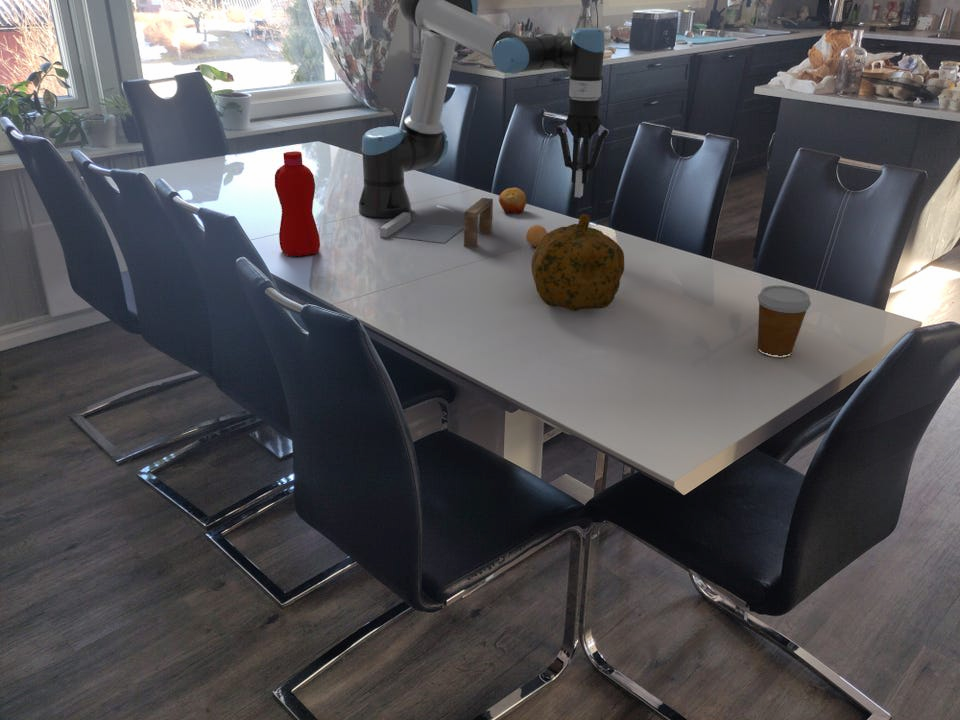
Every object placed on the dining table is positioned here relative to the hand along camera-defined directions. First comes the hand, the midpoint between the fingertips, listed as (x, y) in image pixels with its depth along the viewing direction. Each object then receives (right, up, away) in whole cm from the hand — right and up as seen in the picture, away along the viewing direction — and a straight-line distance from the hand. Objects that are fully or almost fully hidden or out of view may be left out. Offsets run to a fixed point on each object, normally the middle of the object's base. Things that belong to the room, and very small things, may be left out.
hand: (578, 195), depth 208 cm
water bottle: (-70, -14, +2) cm, 72 cm away
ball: (-10, -9, +8) cm, 16 cm away
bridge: (-25, -9, +14) cm, 30 cm away
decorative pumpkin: (-4, -29, -26) cm, 39 cm away
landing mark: (-38, -7, +18) cm, 43 cm away
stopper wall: (-48, -5, +20) cm, 52 cm away
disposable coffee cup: (+32, -40, -47) cm, 69 cm away
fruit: (-15, +2, +38) cm, 41 cm away
